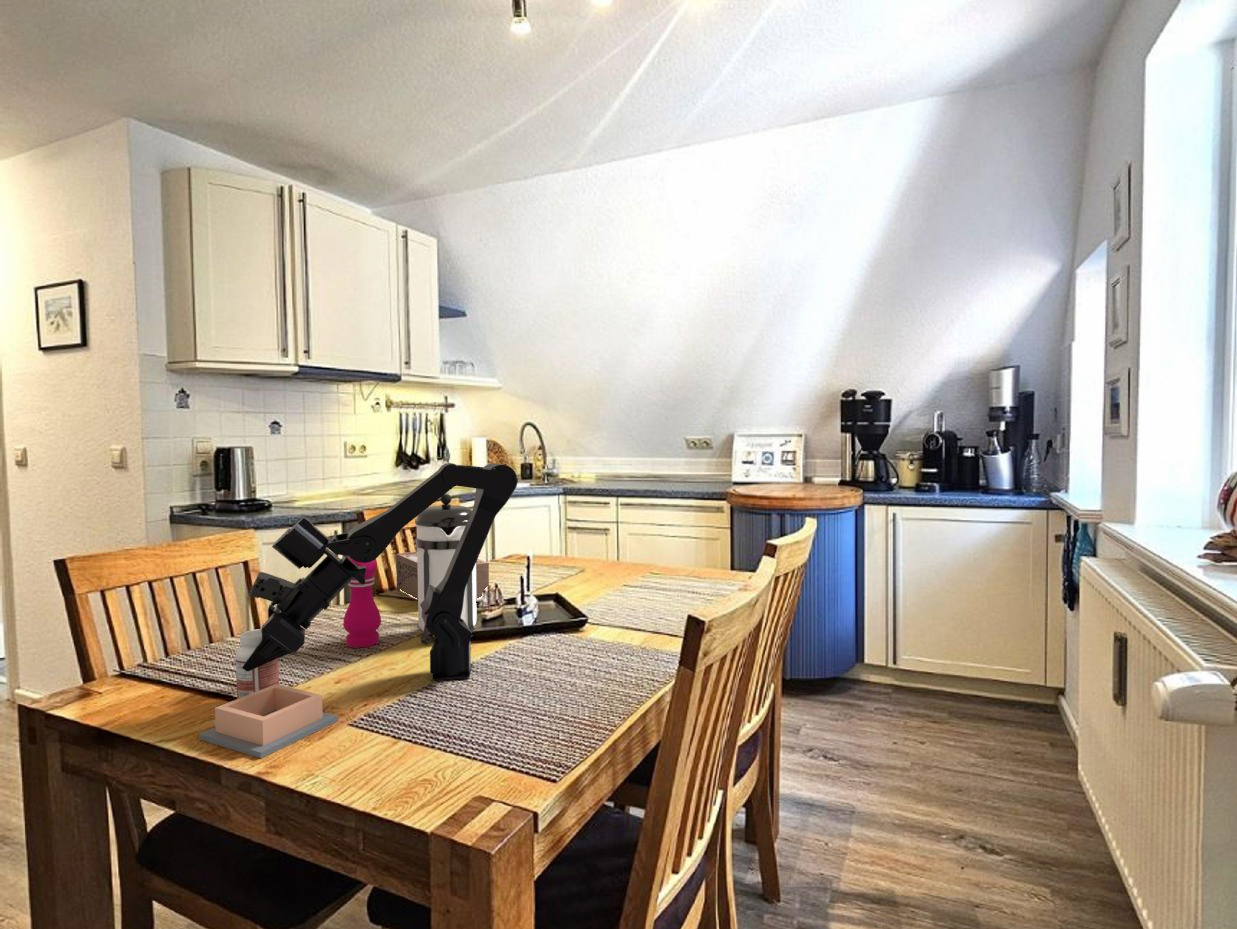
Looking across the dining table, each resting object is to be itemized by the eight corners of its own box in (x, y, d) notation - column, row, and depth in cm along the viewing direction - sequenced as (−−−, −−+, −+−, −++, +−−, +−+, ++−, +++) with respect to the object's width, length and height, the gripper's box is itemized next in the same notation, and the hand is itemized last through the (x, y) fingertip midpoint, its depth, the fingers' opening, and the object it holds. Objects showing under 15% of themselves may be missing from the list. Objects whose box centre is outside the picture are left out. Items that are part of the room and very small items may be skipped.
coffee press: (501, 629, 151) (500, 492, 150) (446, 650, 138) (444, 499, 136) (444, 617, 161) (443, 488, 159) (388, 635, 147) (385, 494, 145)
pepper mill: (369, 649, 138) (367, 549, 137) (336, 647, 139) (334, 548, 138) (388, 638, 145) (386, 543, 144) (356, 636, 146) (354, 542, 145)
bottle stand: (338, 721, 105) (337, 693, 105) (261, 758, 93) (260, 727, 93) (278, 705, 111) (277, 679, 110) (198, 739, 99) (197, 709, 99)
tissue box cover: (396, 590, 188) (396, 553, 187) (447, 583, 196) (446, 548, 196) (434, 611, 167) (433, 570, 167) (489, 602, 176) (488, 562, 175)
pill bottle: (279, 690, 117) (278, 625, 117) (279, 703, 112) (277, 635, 111) (237, 696, 115) (235, 630, 114) (235, 710, 109) (233, 640, 108)
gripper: (285, 545, 122) (215, 614, 118) (278, 566, 105) (195, 647, 101) (334, 586, 125) (268, 654, 122) (335, 612, 108) (257, 692, 105)
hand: (247, 660), depth 112 cm, fingers open, 9 cm apart
